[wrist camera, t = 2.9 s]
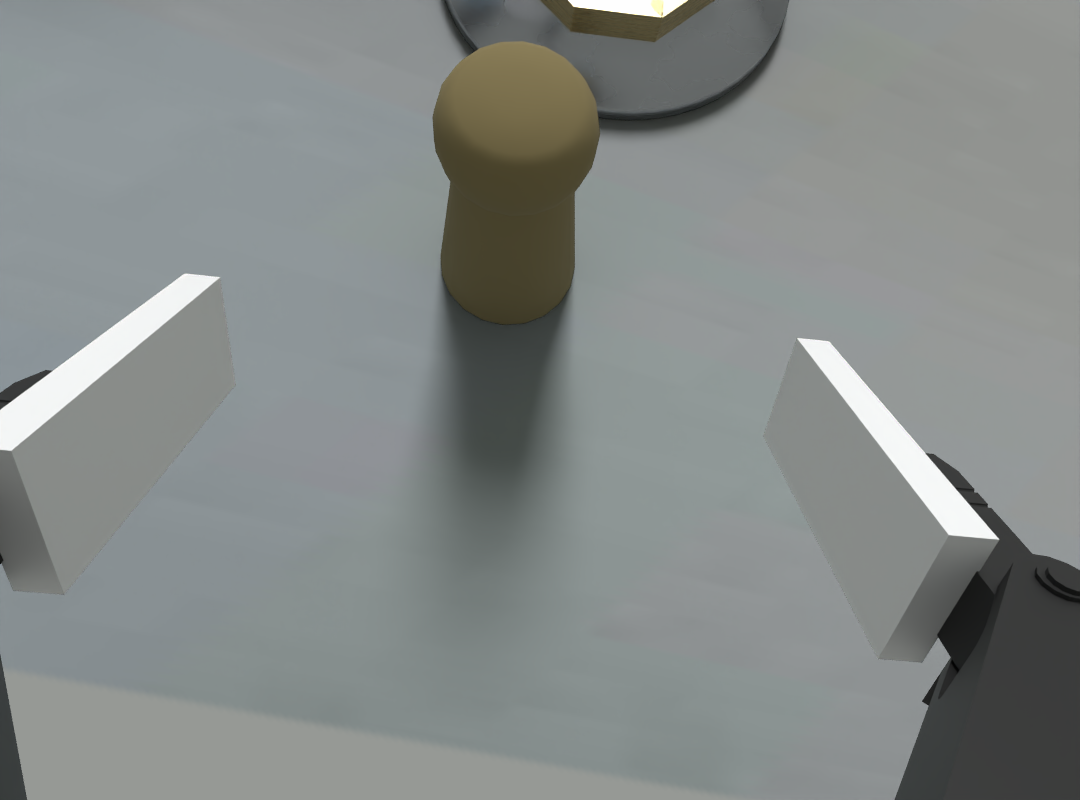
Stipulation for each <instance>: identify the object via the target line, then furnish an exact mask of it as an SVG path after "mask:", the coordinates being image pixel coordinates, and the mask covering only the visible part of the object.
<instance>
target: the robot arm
mask: <svg viewBox="0 0 1080 800" xmlns="http://www.w3.org/2000/svg"><path fill="white" fill-rule="evenodd" d="M235 385H236V384H235V377H234V370H233V363H232V356H231V349H230V342H229V335H228V328H227V321H226V315H225V308H224V301H223V294H222V287H221V280H220V277H212V276H202V275H193V274H184V275H182V276H181V277H179V278H178V279H177V280H175V281H174V282H173V283H171V284H170V285H169V286H167V287H166V288H165V289H163V290H162V291H161V292H159V293H158V294H156V295H155V296H154V297H152V298H151V299H150V300H148V301H147V302H146V303H144V304H143V305H142V306H140V307H139V308H137V309H136V310H135V311H133V312H132V313H131V314H129V315H128V316H127V317H125V318H124V319H123V320H121V321H120V322H119V323H117V324H116V325H114V326H113V327H112V328H110V329H109V330H108V331H106V332H105V333H104V334H102V335H101V336H100V337H98V338H97V339H95V340H94V341H93V342H91V343H90V344H89V345H87V346H86V347H85V348H83V349H82V350H81V351H79V352H78V353H76V354H75V355H74V356H72V357H71V358H70V359H68V360H67V361H66V362H64V363H63V364H62V365H60V366H59V367H58V368H56V369H55V370H53V371H49V370H45V371H43V372H40V373H38V374H35V375H33V376H30V377H28V378H25V379H23V380H20V381H18V382H15V383H14V384H12V385H11V386H9V387H8V388H6V389H5V390H4V391H2V392H1V393H0V564H1V563H2V565H3V568H4V570H5V572H6V575H7V577H8V579H9V582H10V584H11V587H12V589H13V591H23V592H36V593H48V594H61V595H64V594H65V593H66V592H67V591H68V590H69V588H70V587H71V586H72V585H73V583H74V582H75V581H76V580H77V579H78V577H79V576H80V575H81V574H82V572H83V571H84V570H85V569H86V568H87V566H88V565H89V564H90V563H91V561H92V560H93V559H94V558H95V557H96V555H97V554H98V553H99V552H100V550H101V549H102V548H103V547H104V545H105V544H106V543H107V542H108V541H109V539H110V538H111V537H112V536H113V534H114V533H115V532H116V531H117V530H118V528H119V527H120V526H121V525H122V523H123V522H124V521H125V520H126V519H127V517H128V516H129V515H130V514H131V512H132V511H133V510H134V509H135V508H136V506H137V505H138V504H139V503H140V501H141V500H142V499H143V498H144V497H145V495H146V494H147V493H148V492H149V490H150V489H151V488H152V487H153V486H154V484H155V483H156V482H157V481H158V479H159V478H160V477H161V476H162V475H163V473H164V472H165V471H166V470H167V468H168V467H169V466H170V465H171V464H172V462H173V461H174V460H175V459H176V457H177V456H178V455H179V454H180V453H181V451H182V450H183V449H184V448H185V446H186V445H187V444H188V443H189V442H190V440H191V439H192V438H193V437H194V435H195V434H196V433H197V432H198V431H199V429H200V428H201V427H202V426H203V424H204V423H205V422H206V421H207V420H208V418H209V417H210V416H211V415H212V413H213V412H214V411H215V410H216V409H217V407H218V406H219V405H220V404H221V402H222V401H223V400H224V399H225V398H226V396H227V395H228V394H229V393H230V391H231V390H232V389H233V388H234V387H235ZM763 437H764V439H765V441H766V443H767V445H768V447H769V448H770V450H771V452H772V454H773V456H774V458H775V460H776V462H777V464H778V466H779V468H780V470H781V472H782V474H783V476H784V478H785V480H786V481H787V483H788V485H789V487H790V489H791V491H792V493H793V495H794V497H795V499H796V501H797V503H798V505H799V507H800V509H801V511H802V513H803V514H804V516H805V518H806V520H807V522H808V524H809V526H810V528H811V530H812V532H813V534H814V536H815V538H816V540H817V542H818V544H819V546H820V548H821V549H822V551H823V553H824V555H825V557H826V559H827V561H828V563H829V565H830V567H831V569H832V571H833V573H834V575H835V577H836V579H837V581H838V582H839V584H840V586H841V588H842V590H843V592H844V594H845V596H846V598H847V600H848V602H849V604H850V606H851V608H852V610H853V612H854V614H855V615H856V617H857V619H858V621H859V623H860V625H861V627H862V629H863V631H864V633H865V635H866V637H867V639H868V641H869V643H870V645H871V647H872V648H873V650H874V652H875V654H876V656H877V658H878V659H884V660H896V661H909V662H923V661H924V659H925V657H926V656H927V654H928V653H929V651H930V649H931V648H932V646H933V645H934V643H935V641H936V640H937V638H938V637H939V639H940V641H941V642H942V644H943V645H944V647H945V649H946V650H947V652H948V653H949V655H950V657H951V658H950V659H949V661H948V663H947V664H946V666H945V667H944V669H943V670H942V672H941V673H940V675H939V676H938V678H937V679H936V681H935V682H934V684H933V685H932V687H931V688H930V690H929V691H928V693H927V694H926V696H925V697H924V699H923V701H922V702H924V703H925V704H927V705H929V707H928V710H927V712H926V715H925V718H924V721H923V723H922V726H921V729H920V732H919V734H918V737H917V740H916V743H915V745H914V748H913V751H912V754H911V756H910V759H909V762H908V765H907V767H906V770H905V773H904V776H903V778H902V781H901V784H900V787H899V789H898V792H897V795H896V798H895V800H1080V570H1078V569H1076V568H1075V567H1073V566H1071V565H1069V564H1067V563H1064V562H1062V561H1059V560H1056V559H1053V558H1051V557H1047V556H1041V555H1035V554H1032V553H1031V552H1030V551H1029V550H1028V548H1027V547H1026V546H1025V545H1024V544H1023V543H1022V542H1021V541H1020V539H1019V538H1018V537H1017V536H1016V535H1015V534H1014V533H1013V532H1012V531H1011V529H1010V528H1009V527H1008V526H1007V525H1006V524H1005V523H1004V522H1003V521H1002V519H1001V518H1000V517H999V516H998V515H997V514H996V513H995V512H994V511H993V509H992V508H988V506H987V505H988V504H987V503H986V502H985V501H984V499H983V498H982V497H981V496H980V495H979V494H978V493H974V488H973V487H972V486H971V485H970V484H969V483H968V482H967V480H966V479H965V478H964V477H963V476H962V475H961V474H960V473H959V472H958V471H957V470H956V469H954V468H953V467H951V466H950V465H949V464H947V463H946V462H944V461H943V460H941V459H940V458H938V457H937V456H936V455H934V454H928V453H924V451H923V450H922V449H921V448H920V447H919V446H918V444H917V443H916V442H915V441H914V440H913V439H912V437H911V436H910V435H909V434H908V433H907V432H906V430H905V429H904V428H903V427H902V426H901V425H900V424H899V422H898V421H897V420H896V419H895V418H894V417H893V415H892V414H891V413H890V412H889V411H888V410H887V408H886V407H885V406H884V405H883V404H882V403H881V401H880V400H879V399H878V398H877V397H876V396H875V394H874V393H873V392H872V391H871V390H870V389H869V387H868V386H867V385H866V384H865V383H864V382H863V380H862V379H861V378H860V377H859V376H858V375H857V374H856V372H855V371H854V370H853V369H852V368H851V367H850V365H849V364H848V363H847V362H846V361H845V360H844V358H843V357H842V356H841V355H840V354H839V353H838V351H837V350H836V349H835V348H834V347H833V346H832V344H831V343H830V342H829V341H820V340H811V339H801V338H797V339H796V342H795V345H794V348H793V351H792V354H791V357H790V360H789V362H788V365H787V368H786V371H785V374H784V377H783V380H782V383H781V386H780V389H779V391H778V394H777V397H776V400H775V403H774V406H773V409H772V412H771V415H770V418H769V421H768V423H767V426H766V429H765V432H764V435H763ZM0 800H27V797H26V792H25V786H24V781H23V775H22V770H21V764H20V759H19V754H18V749H17V743H16V737H15V733H14V727H13V722H12V716H11V710H10V705H9V699H8V694H7V689H6V683H5V678H4V672H3V667H2V661H1V656H0Z"/></svg>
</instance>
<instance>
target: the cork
mask: <svg viewBox="0 0 1080 800" xmlns="http://www.w3.org/2000/svg"><path fill="white" fill-rule="evenodd" d="M433 131H434V142H435V149H436V153H437V155H438V157H439V160H440V162H441V164H442V166H443V169H444V171H445V173H446V175H447V177H448V178H449V180H450V190H449V197H448V205H447V212H446V220H445V227H444V235H443V242H442V249H441V268H442V276H443V279H444V281H445V283H446V286H447V288H448V290H449V293H450V294H451V295H452V296H453V297H454V299H455V300H456V301H457V302H458V303H459V304H460V305H461V306H462V308H463V309H465V310H466V311H468V312H470V313H472V314H473V315H475V316H477V317H478V318H480V319H482V320H486V321H490V322H494V323H498V324H502V325H505V324H521V323H526V322H529V321H532V320H534V319H537V318H540V317H542V316H544V315H546V314H547V313H548V312H549V311H551V310H552V309H553V308H554V307H556V306H557V305H558V304H559V303H560V302H561V300H562V299H563V297H564V296H565V294H566V293H567V291H568V289H569V288H570V286H571V281H572V277H573V273H574V268H575V191H576V190H577V188H578V187H579V186H580V184H581V183H582V181H583V180H584V178H585V177H586V175H587V174H588V172H589V171H590V169H591V168H592V165H593V161H594V158H595V154H596V150H597V145H598V141H599V137H600V129H599V121H598V113H597V106H596V100H595V98H594V96H593V94H592V92H591V90H590V88H589V86H588V84H587V82H586V80H585V79H584V78H583V76H582V75H581V73H580V72H579V71H578V70H577V69H576V68H575V67H574V66H573V65H572V64H571V63H570V62H569V61H568V60H567V59H566V58H565V57H563V56H561V55H559V54H558V53H556V52H554V51H552V50H550V49H549V48H547V47H544V46H540V45H536V44H532V43H528V42H524V41H517V42H499V43H495V44H492V45H489V46H485V47H482V48H479V49H478V50H476V51H475V52H473V53H472V54H470V55H469V56H467V57H466V58H464V59H463V60H462V61H461V62H460V63H459V64H458V65H456V67H455V68H454V69H453V70H452V72H451V73H450V74H449V76H448V77H447V78H446V80H445V81H444V82H443V84H442V86H441V89H440V92H439V96H438V99H437V102H436V105H435V109H434V113H433Z"/></svg>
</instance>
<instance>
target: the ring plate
mask: <svg viewBox="0 0 1080 800" xmlns="http://www.w3.org/2000/svg"><path fill="white" fill-rule="evenodd" d="M788 3H789V0H446V4H447V6H448V8H449V11H450V13H451V15H452V17H453V20H454V22H455V24H456V25H457V27H458V28H459V30H460V32H461V33H462V35H463V37H464V38H465V40H466V41H467V42H468V43H469V45H470V46H471V47H472V48H473V50H474V51H476V50H478V49H479V48H482V47H485V46H489V45H492V44H495V43H499V42H517V41H524V42H528V43H532V44H536V45H540V46H544V47H547V48H549V49H550V50H552V51H554V52H556V53H558V54H559V55H561V56H563V57H565V58H566V59H567V60H568V61H569V62H570V63H571V64H572V65H573V66H574V67H575V68H576V69H577V70H578V71H579V72H580V73H581V75H582V76H583V78H584V79H585V80H586V82H587V84H588V86H589V88H590V90H591V92H592V94H593V96H594V98H595V100H596V106H597V113H598V117H599V118H605V119H619V120H641V119H655V118H661V117H667V116H672V115H677V114H680V113H684V112H687V111H690V110H693V109H697V108H699V107H701V106H703V105H706V104H708V103H710V102H712V101H714V100H717V99H718V98H720V97H721V96H723V95H724V94H726V93H728V92H729V91H731V90H732V89H734V88H735V87H736V86H738V85H739V84H740V83H741V82H742V81H743V80H745V79H746V78H747V77H748V76H749V75H750V74H751V73H752V72H753V71H754V69H755V68H756V67H757V66H758V65H759V64H760V62H761V61H762V60H763V58H764V57H765V55H766V53H767V52H768V50H769V48H770V47H771V45H772V44H773V42H774V40H775V38H776V36H777V34H778V33H779V30H780V28H781V25H782V23H783V21H784V18H785V16H786V12H787V8H788Z"/></svg>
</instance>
